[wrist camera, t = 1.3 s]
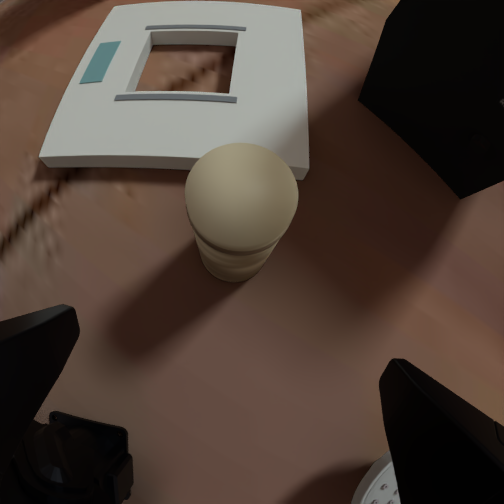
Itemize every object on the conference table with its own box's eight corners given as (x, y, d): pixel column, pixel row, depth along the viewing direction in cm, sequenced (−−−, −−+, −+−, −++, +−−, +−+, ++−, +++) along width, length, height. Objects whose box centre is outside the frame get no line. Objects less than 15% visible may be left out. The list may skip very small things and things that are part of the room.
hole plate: (48, 167, 23) (37, 156, 21) (117, 18, 28) (114, 5, 26) (303, 180, 25) (309, 167, 23) (297, 22, 30) (300, 9, 28)
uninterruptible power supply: (514, 93, 34) (578, 28, 14) (461, 218, 26) (620, 118, 6) (442, 25, 35) (492, -52, 16) (339, 100, 27) (424, -75, 8)
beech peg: (196, 280, 22) (176, 242, 13) (203, 213, 23) (192, 138, 14) (265, 285, 23) (298, 252, 13) (269, 219, 24) (299, 148, 14)
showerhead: (501, 450, 14) (422, 560, 11) (447, 433, 21) (383, 522, 18) (432, 409, 14) (330, 543, 12) (377, 392, 21) (303, 494, 19)
